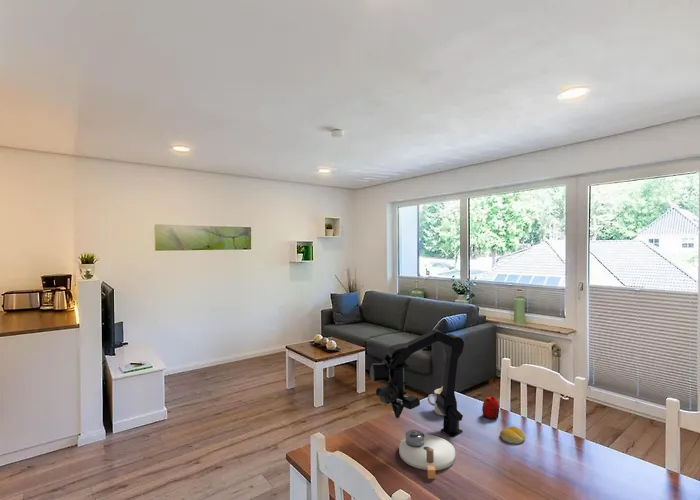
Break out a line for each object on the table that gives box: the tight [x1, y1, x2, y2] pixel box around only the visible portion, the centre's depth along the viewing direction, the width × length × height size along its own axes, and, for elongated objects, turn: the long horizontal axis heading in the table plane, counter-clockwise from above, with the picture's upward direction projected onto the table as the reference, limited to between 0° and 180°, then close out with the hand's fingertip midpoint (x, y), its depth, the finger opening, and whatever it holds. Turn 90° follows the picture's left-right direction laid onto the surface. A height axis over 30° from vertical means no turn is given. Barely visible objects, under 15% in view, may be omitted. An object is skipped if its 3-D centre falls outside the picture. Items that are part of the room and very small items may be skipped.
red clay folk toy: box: [481, 384, 500, 420], centre depth 165 cm, size 8×7×15 cm
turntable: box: [398, 433, 456, 471], centre depth 136 cm, size 20×20×6 cm
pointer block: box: [426, 465, 437, 480], centre depth 124 cm, size 2×2×3 cm
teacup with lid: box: [427, 385, 444, 417], centre depth 171 cm, size 12×9×12 cm
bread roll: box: [499, 426, 526, 445], centre depth 147 cm, size 8×9×4 cm
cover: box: [404, 429, 424, 448], centre depth 140 cm, size 7×7×4 cm
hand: (397, 417), depth 147 cm, fingers closed
